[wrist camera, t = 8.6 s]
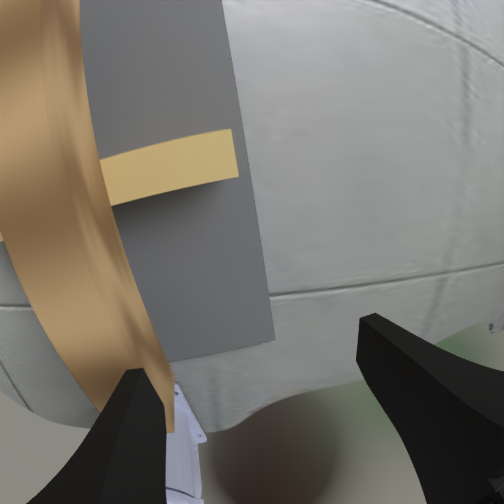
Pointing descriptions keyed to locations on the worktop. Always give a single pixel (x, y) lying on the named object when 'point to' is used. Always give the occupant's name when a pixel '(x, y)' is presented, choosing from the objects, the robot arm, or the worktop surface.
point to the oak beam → (67, 207)
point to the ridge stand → (177, 170)
